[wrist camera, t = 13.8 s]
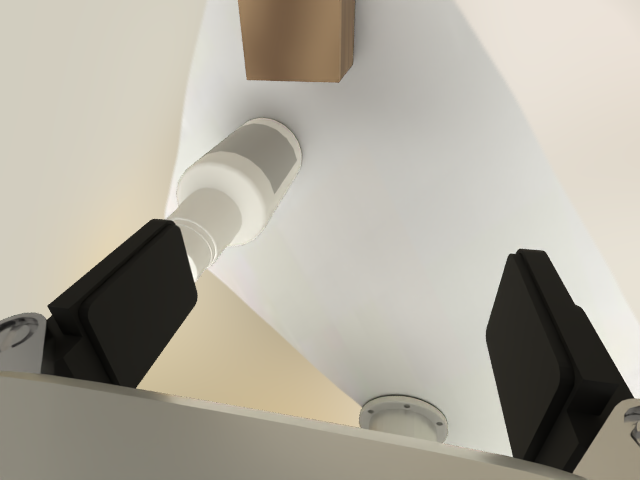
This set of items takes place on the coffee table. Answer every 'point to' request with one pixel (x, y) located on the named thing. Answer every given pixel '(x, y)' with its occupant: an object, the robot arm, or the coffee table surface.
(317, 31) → the tan wooden cube
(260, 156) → the spray bottle
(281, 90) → the coffee table surface
